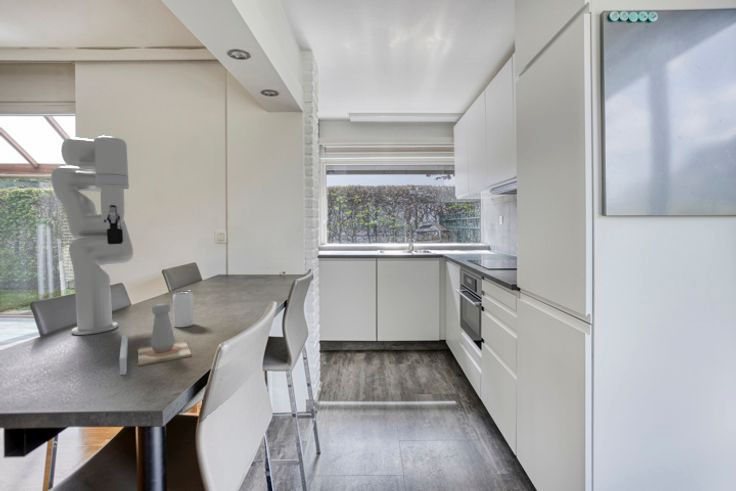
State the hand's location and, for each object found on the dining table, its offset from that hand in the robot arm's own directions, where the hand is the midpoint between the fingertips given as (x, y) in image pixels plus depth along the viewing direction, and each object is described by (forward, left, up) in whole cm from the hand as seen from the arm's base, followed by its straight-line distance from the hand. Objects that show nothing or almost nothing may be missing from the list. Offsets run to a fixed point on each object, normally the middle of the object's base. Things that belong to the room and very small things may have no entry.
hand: (115, 243), depth 101 cm
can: (-16, +18, -31) cm, 39 cm away
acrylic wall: (+12, +1, -30) cm, 33 cm away
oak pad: (+12, +10, -30) cm, 34 cm away
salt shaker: (+12, +10, -30) cm, 34 cm away
